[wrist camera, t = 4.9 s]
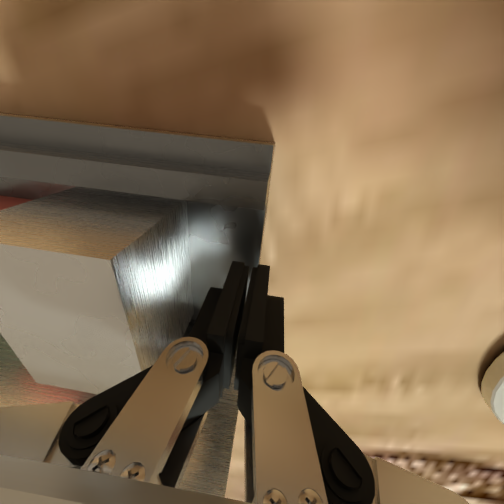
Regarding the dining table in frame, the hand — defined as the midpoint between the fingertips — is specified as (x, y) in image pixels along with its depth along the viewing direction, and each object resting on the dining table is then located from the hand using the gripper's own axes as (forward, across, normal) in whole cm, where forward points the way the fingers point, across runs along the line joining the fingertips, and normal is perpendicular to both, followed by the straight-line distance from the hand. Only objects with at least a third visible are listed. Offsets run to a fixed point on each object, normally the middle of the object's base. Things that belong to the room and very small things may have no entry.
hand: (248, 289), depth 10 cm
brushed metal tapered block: (+1, +6, 0) cm, 7 cm away
